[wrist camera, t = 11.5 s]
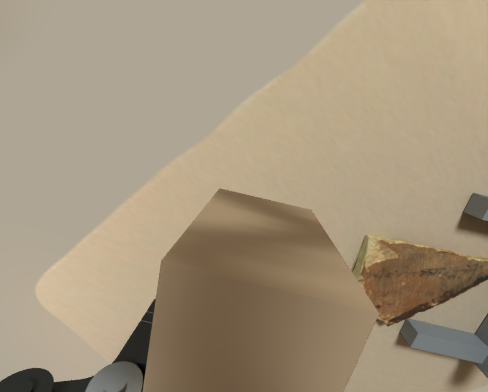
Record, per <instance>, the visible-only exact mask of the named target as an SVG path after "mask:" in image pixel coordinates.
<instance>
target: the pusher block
mask: <svg viewBox="0 0 488 392" xmlns="http://www.w3.org/2000/svg"><path fill="white" fill-rule="evenodd" d="M378 315H379V312H378V311H377V309H376V308H375V306H374V305H373V303H372V302H371V300H370V299H369V297H368V296H367V294H366V293H365V291H364V290H363V288H362V286H361V285H360V283H359V282H358V280H357V279H356V277H355V276H354V274H353V273H352V271H351V270H350V268H349V267H348V265H347V264H346V262H345V261H344V259H343V258H342V256H341V255H340V253H339V252H338V250H337V248H336V247H335V245H334V244H333V242H332V241H331V239H330V238H329V236H328V235H327V233H326V232H325V230H324V229H323V227H322V226H321V224H320V223H319V221H318V220H317V218H316V217H315V215H314V214H313V212H312V211H311V210H309V209H305V208H301V207H296V206H292V205H288V204H284V203H279V202H275V201H271V200H267V199H262V198H258V197H254V196H249V195H245V194H241V193H237V192H232V191H228V190H224V189H219V190H218V191H217V192H216V194H215V195H214V196H213V197H212V199H211V200H210V201H209V202H208V204H207V205H206V206H205V207H204V209H203V210H202V211H201V212H200V214H199V215H198V216H197V217H196V218H195V220H194V221H193V222H192V223H191V225H190V226H189V227H188V228H187V230H186V231H185V232H184V233H183V235H182V236H181V237H180V238H179V240H178V241H177V242H176V243H175V245H174V246H173V247H172V248H171V249H170V251H169V252H168V253H167V254H166V256H165V257H164V258H163V259H162V261H161V266H160V273H159V280H158V287H157V294H156V301H155V308H154V315H153V322H152V329H151V336H150V343H149V350H148V357H147V364H146V371H145V378H144V385H143V392H344V390H345V388H346V386H347V384H348V381H349V379H350V377H351V375H352V373H353V370H354V368H355V366H356V364H357V361H358V359H359V357H360V355H361V353H362V350H363V348H364V346H365V344H366V341H367V339H368V337H369V335H370V333H371V330H372V328H373V326H374V324H375V321H376V319H377V317H378Z"/></svg>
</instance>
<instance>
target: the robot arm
mask: <svg viewBox="0 0 488 392" xmlns="http://www.w3.org/2000/svg"><path fill="white" fill-rule="evenodd" d="M155 301H156V299H155V300H154V301H153V302H152V304H151V305H150V307H149V308H148V310H147V312H146V313H145V315H144V316H143V318H142V320H141V322H139V324H138V326H137V327H136V329H135V330H134V332H133V333H132V335H131V336H130V338H129V340H128V341H127V343H126V344H125V346H124V347H123V349H122V350H121V352H120V354H119V355H118V357H117V358H116V359H115V361H114V362H113V363H112V364H110V365H108V366H106V367H104V368H103V369H101V370H100V371H99V372H98V373H97V374H96V375H94V376H92V377H89V378H86V379H80V380H71V381H62V382H54V380H53V377H52V375H51V373H50V372H49V371H47V370H45V369H41V368H31V369H26V370H23V371H19V372H17V373H14V374H12V375H11V376H8V377H7V378H5V379H4V380H2V381H1V382H0V392H143V385H144V378H145V371H146V364H147V357H148V350H149V343H150V336H151V329H152V322H153V315H154V308H155Z"/></svg>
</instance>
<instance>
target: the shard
mask: <svg viewBox="0 0 488 392" xmlns="http://www.w3.org/2000/svg"><path fill="white" fill-rule="evenodd" d="M352 273H353V274H354V276H355V277H356V279H357V280H358V282H359V283H360V285H361V286H362V288H363V290H364V291H365V293H366V294H367V296H368V297H369V299H370V300H371V302H372V303H373V305H374V306H375V308H376V309H377V311H378V312H379V315H378V317H377V319H379V320H381V321H384V322H385V324H386V325H387V326H390V325H393V324H394V323H398V322H400V321H402V320H406V319H408V318H410V317H412V316H414V315H415V314H416V313H418V312H423V311H426V310H428V309H431V308H433V307H434V306H437V305H439V304H442V303H445V302H446V301H448V300H450V299H452V298H454V297H456V296H458V295H460V294H462V293H464V292H466V291H468V290H469V289H471V288H473V287H475V286H477V285H478V284H480V283H482V282H484V281H486V280H488V258H482V257H473V256H463V255H459V254H456V253H454V252H451V251H447V250H442V249H435V248H432V247H429V246H424V245H417V244H414V243H410V242H407V241H404V240H395V239H386V238H382V237H378V236H372V235H365V238H364V241H363V245H362V247H361V250H360V253H359V256H358V259H357V262H356V265H355V268H354V270H353V272H352Z"/></svg>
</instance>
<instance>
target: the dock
mask: <svg viewBox="0 0 488 392" xmlns="http://www.w3.org/2000/svg"><path fill="white" fill-rule="evenodd" d="M464 213H467V214H469V215H472V216H474V217H477V218H479V219H481V220H485V221H488V196H484V195H480V194H475V193H473V195H472V197H471V199H470V200H469V202H468V204H467V206H466V208H465V210H464ZM400 333H401V334H402V336H403V337H404V339H405V340H406V342H407V343H408V345H409V346H410V347H411V348H415V349H420V350H424V351H428V352H433V353H437V354H441V355H445V356H450V357H454V358H458V359H463V360H467V361H471V362H473V363H474V364H475V365H476V366H477V367H478V368H479V369H480V370H481V371H482V372H483V373H484V375H485V376H486V377H487V378H488V315H487V317H486V318H485V320H484V321H483V323H482V324H481V326H480V327H479V329H478V330H477V332H476V333H475V334H471V333H467V332H463V331H458V330H454V329H450V328H445V327H441V326H437V325H432V324H428V323H424V322H419V321H415V320H411V319H406V321H405V323H404V325H403V327H402V329H401V331H400Z"/></svg>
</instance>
